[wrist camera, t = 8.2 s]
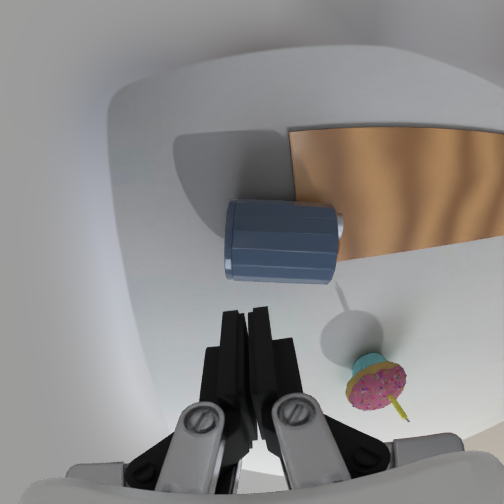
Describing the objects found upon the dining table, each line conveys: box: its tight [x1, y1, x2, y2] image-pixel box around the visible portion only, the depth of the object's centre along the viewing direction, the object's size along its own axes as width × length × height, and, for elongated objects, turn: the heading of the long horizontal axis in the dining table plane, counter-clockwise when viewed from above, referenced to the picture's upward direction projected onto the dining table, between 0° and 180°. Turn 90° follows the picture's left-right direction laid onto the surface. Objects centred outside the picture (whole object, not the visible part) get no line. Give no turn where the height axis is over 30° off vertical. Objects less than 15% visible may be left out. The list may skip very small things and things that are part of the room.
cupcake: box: [346, 353, 410, 422], centre depth 34 cm, size 9×8×12 cm
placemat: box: [289, 127, 504, 261], centre depth 29 cm, size 40×14×1 cm, turn 98°
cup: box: [224, 199, 339, 284], centre depth 27 cm, size 7×7×9 cm
